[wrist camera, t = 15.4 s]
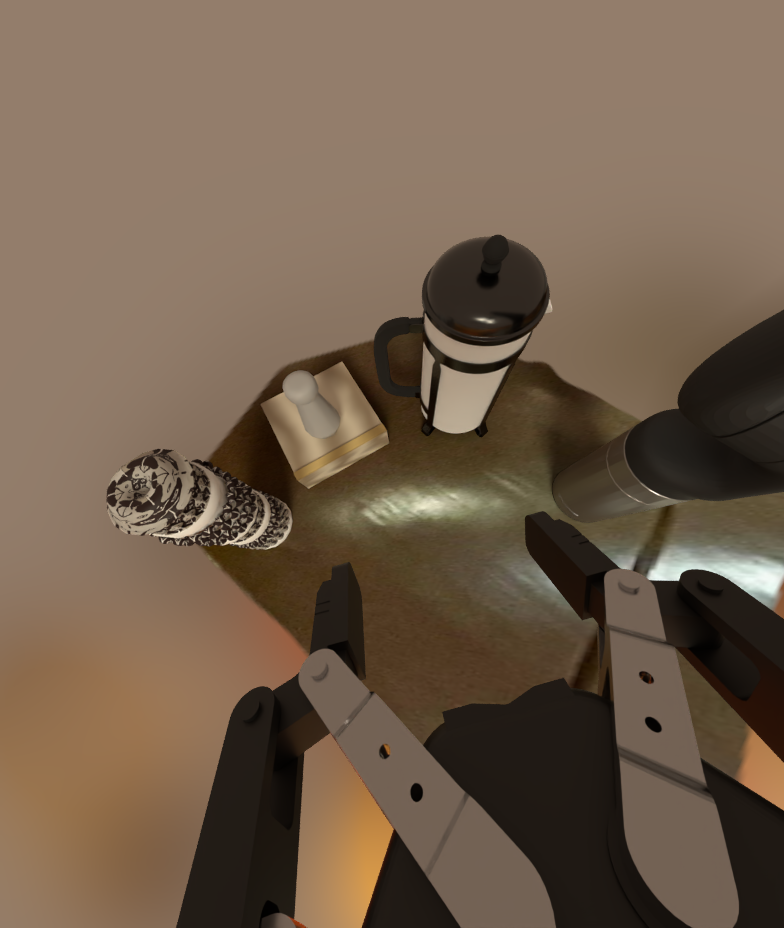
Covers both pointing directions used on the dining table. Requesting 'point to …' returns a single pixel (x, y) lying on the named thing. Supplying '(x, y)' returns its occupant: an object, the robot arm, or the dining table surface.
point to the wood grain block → (338, 451)
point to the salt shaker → (311, 405)
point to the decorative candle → (193, 504)
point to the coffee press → (469, 330)
